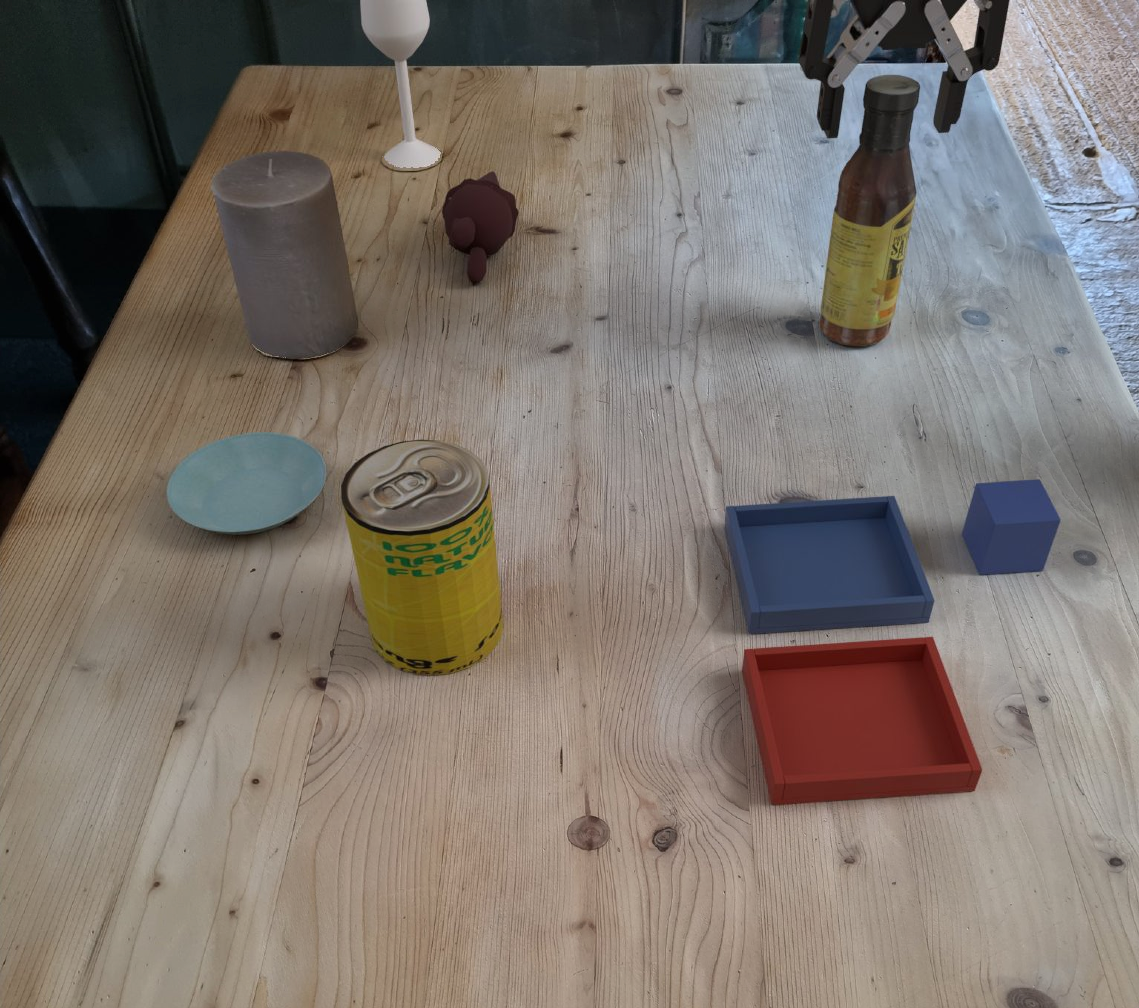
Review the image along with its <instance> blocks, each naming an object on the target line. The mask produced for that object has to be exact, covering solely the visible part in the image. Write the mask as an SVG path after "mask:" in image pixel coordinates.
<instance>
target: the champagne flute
mask: <svg viewBox="0 0 1139 1008" xmlns="http://www.w3.org/2000/svg"><path fill="white" fill-rule="evenodd" d="M359 2H360V5H359V6H360V21H361V28H362V31H363V33H364V35H365V37H367V39H368V40H369V41H370V43H371V44H372V45H373V46H374V47H375V48H376V49H378V50H379V52H381V53H382V54H383V55H384V56H386V57H387V58H388V59H391V60H393V61H394V66H395V74H396V75H395V76H396V82H397V89H398V91H397V92H398V98H399V105H400V114H401V122H402V131H403V138H404V139H403V140H401V141H400V142H399V143H398V144H396V145H395V146H393V147H392V148H390V149H389V150H388V151H386V152H387V153H386V152H385V153H386V154H385V153H384V154H385V156H384V158H385V160H386V161H388V163H389V164H392V165H394V167H395V166H396V167H400V168H403V167H406V168H411V167H413V168H419V167H427V166H430V165H431V164H434V163H435V161H438V158H440V154H441V152H440V151H439V150H440V149H439V148H438V149H439V150H438V149H437V147H436V148H435V146H433V145H431V144H429V143H426V142H425V141H422V140H421V139H418V138H417V137H416V129H415V123H414V122H415V121H414V114H413V105H412V97H411V89H410V88H411V87H410V80H409V79H410V78H409V72H408V63H407V60H408V59H409V58H410V57H412V56H413V55H414V53H415V52H416V51H417V50H418V48H419V47H420V45H421V44H422V43H423V42H424V39H425V38H426V36H427V33H428V31H429V28H430V23H431V22H430V21H431V20H430V19H431V18H430V13H429V8H428V3H427V0H359Z"/></svg>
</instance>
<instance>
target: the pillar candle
mask: <svg viewBox="0 0 1139 1008" xmlns="http://www.w3.org/2000/svg"><path fill="white" fill-rule="evenodd" d="M209 189H210V191H211V192H212V194H213V197H214V202H215V205H216V211H217V213H218V219H219V221H220V222H219V223H220V226H221V230H222V235H223V238H224V243H225V246H226V250H227V256H228V259H229V262H230V266H231V270H232V275H233V279H234V283H235V287H236V291H237V295H238V298H239V303H240V308H241V312H242V315H243V320H244V324H245V326H246V332H247V336H248V339H249V341H250V344H251V343H252V344H253V345H254V346H255V347H256V348H257V349H259V350H260V351H262V352H264V353H267V354H270V355H272V356H279V357H284V358H283V359H286V358H292V359H291V360H295V358H296V359H300V358H311V357H315V356H321V355H324V354H327V353H331V352H333V351H336V350H337V349H339V348H341V347H342V346H343V345H346V344H347V343H348V341H350V339H352V338H353V339H354V337H355V336H356V334H357V331H358V328H359V318H358V314H357V307H356V306H357V305H356V301H355V296H354V295H355V294H354V288H353V284H352V279H351V272H350V266H349V260H348V255H347V250H346V245H345V239H344V234H343V228H342V223H341V216H340V210H339V205H338V201H337V195H336V190H335V185H334V177H333V174H332V170H331V167H330V166H329V165H328V163H327V162H326V161H325V160H324V159H322V158H320V157H318V156H315V155H313V154H311V153H307V152H306V153H305V152H301V151H291V150H290V151H289V150H277V151H276V150H275V151H274V150H273V151H263V152H258V153H253V154H249V155H246V156H244V157H240V158H238V159H235V160H233V161H231V162H228V163H226V164H225V165H224V166H223V167H222V168H220V169H219V170H218V171H217V172H216V173H215V175H214V176H213V177H212V181H211V185H210V187H209ZM356 330H357V331H356ZM355 333H356V334H355ZM354 335H355V336H354ZM353 336H354V337H353ZM353 339H352V340H353ZM350 342H351V341H350ZM252 344H251V345H252ZM348 344H349V343H348ZM348 344H347V345H348ZM347 345H346V346H347ZM341 349H342V348H341ZM285 357H286V358H285Z"/></svg>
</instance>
